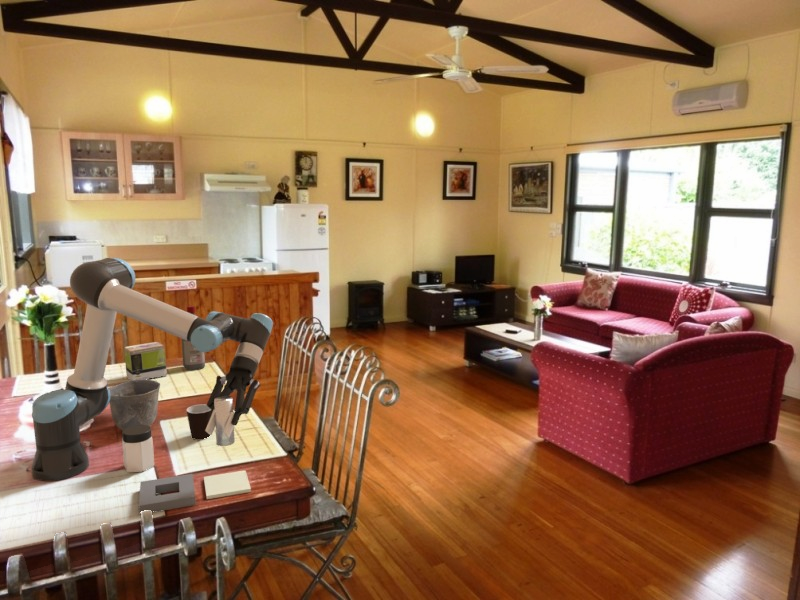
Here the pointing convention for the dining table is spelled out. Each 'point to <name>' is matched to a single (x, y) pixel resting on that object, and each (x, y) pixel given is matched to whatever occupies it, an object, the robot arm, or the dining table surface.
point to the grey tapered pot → (134, 403)
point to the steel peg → (223, 419)
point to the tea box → (145, 361)
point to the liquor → (192, 351)
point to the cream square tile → (226, 484)
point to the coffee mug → (198, 420)
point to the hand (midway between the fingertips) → (217, 433)
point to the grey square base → (167, 501)
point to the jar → (137, 448)
